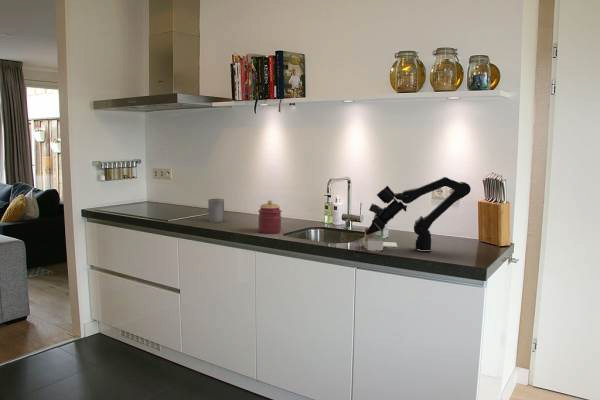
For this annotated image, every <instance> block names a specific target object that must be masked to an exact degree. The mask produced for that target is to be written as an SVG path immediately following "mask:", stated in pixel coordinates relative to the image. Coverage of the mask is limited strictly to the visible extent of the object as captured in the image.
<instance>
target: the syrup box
mask: <svg viewBox="0 0 600 400" xmlns="http://www.w3.org/2000/svg"><path fill="white" fill-rule="evenodd" d="M375 215H376V213H374V216H375ZM374 216H373V217H374ZM375 217H377V216H375ZM389 224H390V221H388V222H387V224H385V228H384V229H383V230H381V231H378V232H375V237H376V238H385V239H387V238H386V237H388V238H389V228H390V227H389V226H390V225H389Z"/></svg>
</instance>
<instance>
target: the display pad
mask: <svg viewBox="0 0 600 400" xmlns="http://www.w3.org/2000/svg"><path fill="white" fill-rule="evenodd" d="M384 246H385V247H397V248H398V244H397V242H390V241H383V247H384Z"/></svg>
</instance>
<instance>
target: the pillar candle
mask: <svg viewBox="0 0 600 400" xmlns="http://www.w3.org/2000/svg"><path fill="white" fill-rule="evenodd" d="M207 201H208V206H207V207H208V222H209V223H223V222H225V199H224V198H210V199H208V200H207Z"/></svg>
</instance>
